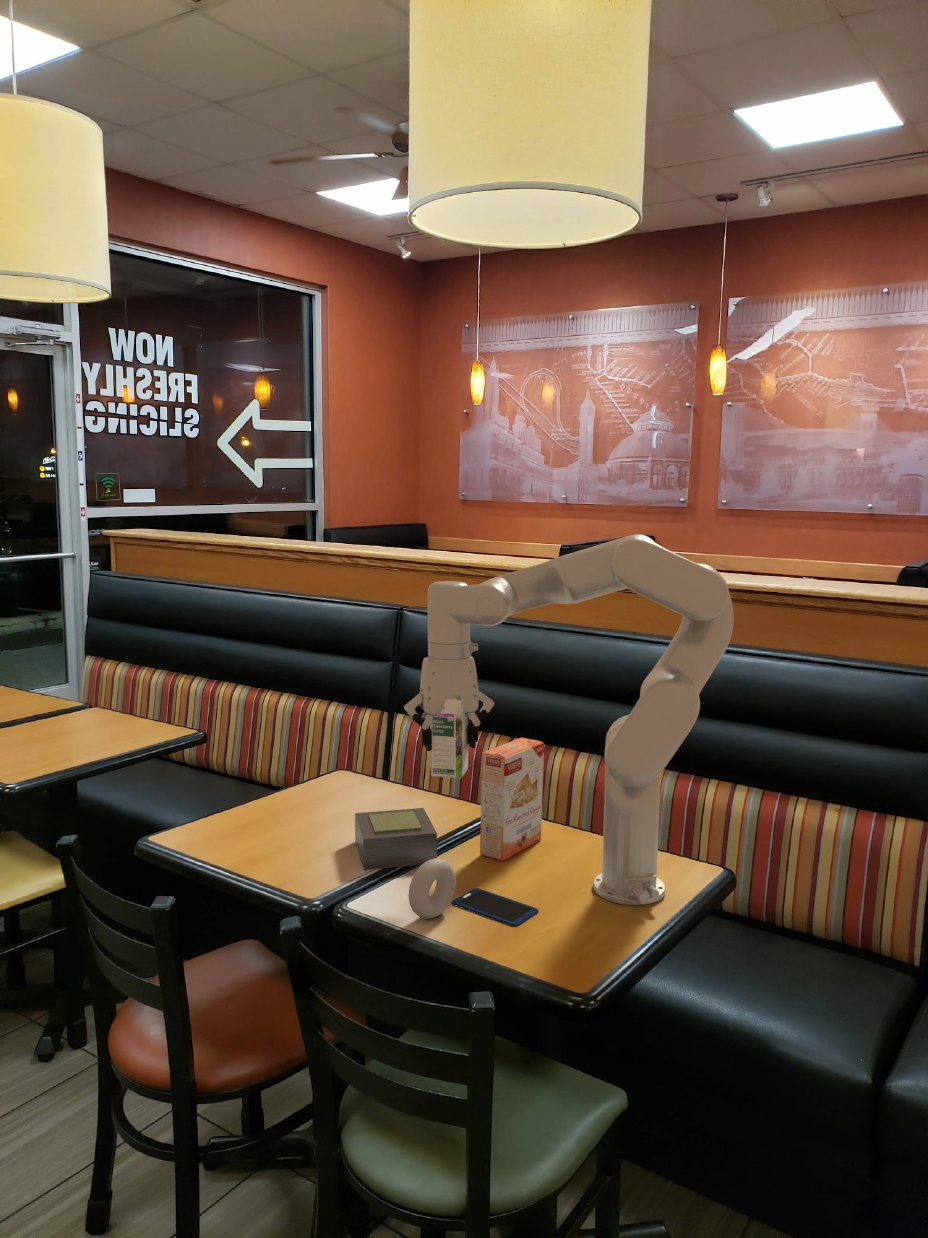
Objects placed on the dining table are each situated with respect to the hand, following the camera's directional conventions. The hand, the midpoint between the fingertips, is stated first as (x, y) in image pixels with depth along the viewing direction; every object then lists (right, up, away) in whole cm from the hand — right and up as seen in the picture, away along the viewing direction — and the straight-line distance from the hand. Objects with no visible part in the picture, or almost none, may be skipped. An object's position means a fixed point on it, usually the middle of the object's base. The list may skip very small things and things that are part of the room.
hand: (449, 747), depth 163 cm
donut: (-3, -27, -12) cm, 30 cm away
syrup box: (0, -5, +1) cm, 5 cm away
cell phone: (+8, -27, -9) cm, 29 cm away
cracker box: (+12, -23, +17) cm, 31 cm away
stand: (-11, -23, +14) cm, 29 cm away
